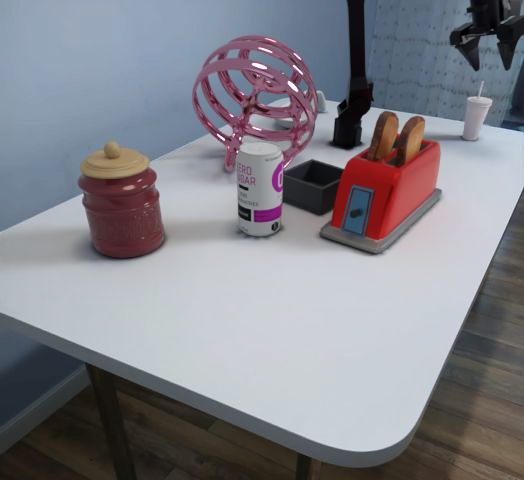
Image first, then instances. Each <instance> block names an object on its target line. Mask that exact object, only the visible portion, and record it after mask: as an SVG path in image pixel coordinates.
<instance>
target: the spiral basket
mask: <svg viewBox="0 0 524 480" xmlns="http://www.w3.org/2000/svg"><path fill="white" fill-rule="evenodd" d="M232 50H233V51H234V50H239V51H238V54H237V57H228V55H229V52H230V51H232ZM252 51H254V52H255V51H256V52H258V53H263V54H265V55H268V56H271V57H273V58H275V59H276V60H278V61H281V62H282V63H283V64H285V65H286V66H288V67H289V68H290V69H292V73H291V75H290V77H288V76H287V75H286V74H285V73H284V72H283V70H282V69H281V70H278V69H276V68H274V67H272V66H270V65H268V64H265V63H263V62H261V61H256V60H252V59H250V54H251V52H252ZM216 56H217V57H216ZM215 57H216V60H215V61H212V60H214V58H215ZM229 71H240V72H241V74H242V76H243V77H244V79H245V80H246V81H247V82H248V83H249V84H251V85H252V88H253V89H252V91H251V93H249V94H248V95H246V94H245V93H243V91H241V90H240V89H239V88H238V86H237V85H236V84H235V83H234V81H233V80H232V78H231V76H230V74H229ZM214 73H217V77H218V80H219V82H220V84H221V86H222V88H223V89H224V91H225V92H226V93H227V95H228V96H229V97H230V98H231V99H232V100H233V101H234V102H236V103H237V104H238V105H239V107H240V108H241V113H240V114H239V115H238V116H236V115H234V114H233V113H232V112H230V111H229V110H228V109H227V108H226V107H225V106H224V105H223V104H222V103H221V102H220V101H219V99H218V98H217V96H216V94H215V93H214V91H213V89H212V86H211V83H210V80H209V76H210V75H212V74H214ZM301 81H304V83H305V84H306V86H307V89H306V90H307V92H306V94H304V91H303V90H302V89H301V87H299V85H300V83H301ZM199 85H200V88H201V91H202V94H203V96H204V98H205V100H206V102H207V103H208V105H209V107H210V108H211V109H212V110H213V112H214V113H215V114H216V115H217V116H218V117H219V118H220V119H221V120H222V121H223V122H224V123H226V124H227V125H228V126H229V127H230V128H231V129H232V133H231V135H227V134H225V133H223V131H222V130H220V129H219V128H218V127H216V126H215V125H214V123H213V122H211V120H210V119H209V118H208V116H207V115H206V114H205V112H204V111H203V109H202V107H201V105H200V101H199V98H198V88H199ZM317 91H318V90H317V88H316V85H315V82H314V78H313V75H312V72H311V70H310V68H309V66H308V64H307V63H306V61H305V60H304V59H303V58H302V56H301V55H300V54H299V53H298V52H297V51H296V50H294V49H293V48H292V47H291V46H289V45H288V44H286V43H284V42H283V41H281V40H279V39H277V38H273V37H271V36H267V35H262V34H245V35H241V36H238V37H235V38H233V39H231V40H229V41H228V42H226V43H224V44H222V45H220V46H219V47H217V48H216V49H214V50H213V51H212V52H211V53H210V54H209V55H208V56H207V58H206V59H205V61H204V63H203V65H202V67H201V70H200V71H199V72H198V74H197V75H196V77H195V79H194V82H193V85H192V90H191V102H192V107H193V110H194V113H195V115H196V117H197V119H198V120H199V122H200V124H201V125H202V126H203V127H204V129H205V130H206V131H207V132H208V133H209V134H210V135H211V136H212V137H213V138H214V139H216V140H217V141H218V142H220V143H221V144H222V145H223V146H224V147H225V149H226V153H225V158H224V167H225V169H226V171H227V172H232V171H233V170H234V166H233V165H234V163H235V159H236V156H237V153H238V151H239V149H240V146H241V145H242V144H244V143H243V138H244V137H247V136H249V137H251V138H254V139H258V140H260V141H268V142H278V143H279V142H290V145H289V148H287V149H285V150H281V152H282V154H283V170H284V169H286V167H288V166H289V164H290V163H291V162H292V161H293V160H294V158H296V156H299V154H301V153H302V152H303V151H304V150H305V149H306V148H307V147H308V145H310V142H311V141H312V139H313V136H314V134H315V129H316V122H317V118H318V114H319V111H318V96H317ZM261 92H264V93H267V94H271V95H285V94H286V95H287V96H288V98H289V101H290V105H289V106H287V107H280V106H272V105H266V104H263V103H261V102H259V95H260V94H261ZM312 99H314V111H313V108H312V106H311V104H310V103H311V101H312ZM303 112H305V114H306V117H307V119H308V121H307V122H306V123H304V124H302V123H301V115H302V113H303ZM252 115H258V116H260V117H263V118H267V119H273V120H275V119H285V118H292V120H293V127H292V128H291V129H286V130H269V129H265V128H260V127H258V126H254V125H253V124H251V122H250V118H251V117H252ZM307 133H308V136H307V137H306V139H305V140H304V141H302V143H301V140H302V138H303V137H304V136H305V135H306V134H307ZM300 143H301V144H300Z"/></svg>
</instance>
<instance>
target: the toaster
mask: <svg viewBox="0 0 524 480" xmlns="http://www.w3.org/2000/svg"><path fill="white" fill-rule="evenodd" d="M425 126H426V119H425V118H424V117H423V116H420V115H414V116H412V117H409V119H408V120H407V121H406V122H405V124H404V125H403V127H402V129H401V131H400V133H398V132H399V129H400V122H399V117H398V115H397V113H396V112H393V111H390V110H384V111H382V112H381V113H379V115H378V118H377V120H376V123H375V126H374V129H373V134H372V137H371V141H370V145H369V147H368V148H366V149H363V150H362V151H361V152H359V153H358V154H356V155H354V156H353V157H350V159H348V161H347V162H346V163H345V166H344V168H343V169H344V171H343V173H342V175H341V178H340V182H339V186H338V190H337V194H336V199H335V204H334V208H333V210H332V213H331V214H332V215H331V219H330V220H329V221H327V222H326V223H325V224H324V225H323V226H322V227H321V228H320V231H319V235H320V236H321V237H322V238H325V239H328V240H331V241H334V242H337V243H341V244H344V245H347V246H350V247H353V248H356V249H359V250H362V251H365V252H369V253H371V254H375V255H376V254H379V253H382V252H383V251H384V250H386V249H387V248H388V247H390V245H392V244H393V243H394V242H395V241H396V240H397V239H398V238H399V237H400V236H401V235H402V234H403V233H405V231H407V230H408V229H409V227H411V226H412V225H413V224H414V223H415V222H416V221H417V220H418V219H419V218H420V217H421V216H422V215H424V213H425V212H427V211H428V210H429V209H430V208H431V207H432V206H433V205H434V204H435V203H436V202H437V201H438V200H439V198H440V197H441V196H442V194H443V190H442V189H441V188H438V187H437V183H438V177H439V171H440V164H441V156H442V151H441V150H442V149H441V143H440V142H439V141H437V140H431V139H426V138H424V137H423V136H424V132H425V128H426V127H425Z"/></svg>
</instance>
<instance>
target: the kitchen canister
mask: <svg viewBox="0 0 524 480" xmlns="http://www.w3.org/2000/svg"><path fill="white" fill-rule="evenodd" d="M150 164H151V161H150V159H149V158H148V157H147V156H146V155H144V154H142V153H140V152H139V151H138V150H135V149H133V148H127V147H120V145H119V144H118V142H116V141H113V140H111V141H107V142H105V144H104V146H103V149H100V150H99V149H98V150H96V151H94V152H91V153H90V154H89V155H87V157H86V158H85V159H83V160H82V161H81V162H80V163H79V165H78V168H79V171H80V173H81V174H80V175H79V176H78V178H77V186H78V188H79V189H80V190H82V193H83V197H82V199H81V204H82V206H83V207H84V211H85V215H86V219H87V223H88V227H89V236H90V239H91V243H92V244H93V246H94V249H95V250H96V251H97V252H98V253H100V254H102V255H104V256H107V257H110V258H111V257H112V258H118V259H119V258H120V259H123V258H126V259H128V258H134V257H135V258H136V257H140V256H143V255H147V254H149V253H151V252H153V251H155V250H157V249H158V248H159V247H161V245H162V244H163V242H164V239H165V225H164V223H163V217H162V211H161V202H160V191H159V190H158V188H157V187H156V181H157V179H158V174H157V171H156V170H154V168H152V167H150Z"/></svg>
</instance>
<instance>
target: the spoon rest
mask: <svg viewBox="0 0 524 480" xmlns="http://www.w3.org/2000/svg"><path fill="white" fill-rule="evenodd" d="M316 91H317V96H318V112H327V101H326V97H325V95H324V93H323V92H322V91H321V90H316ZM303 92H304V94H306V92H307V89H305V90H304V91H303ZM310 104H311V106H312V108H313V111H314V99H312V101H311V103H310ZM289 105H290V100H288V101H287V102H285V103H284V104H282V105H280V106H279V107H287V106H289ZM274 120H275V122H276V123H277V124H278V125H280V126H281V127H283V128H286V129H287V130H290V129H291V128H292V127H293V120H292V118H285V119H274ZM307 121H308V119H307V117H306V114H305V112H303V113H302V115H301V123H302V124H304V123H306V122H307Z"/></svg>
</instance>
